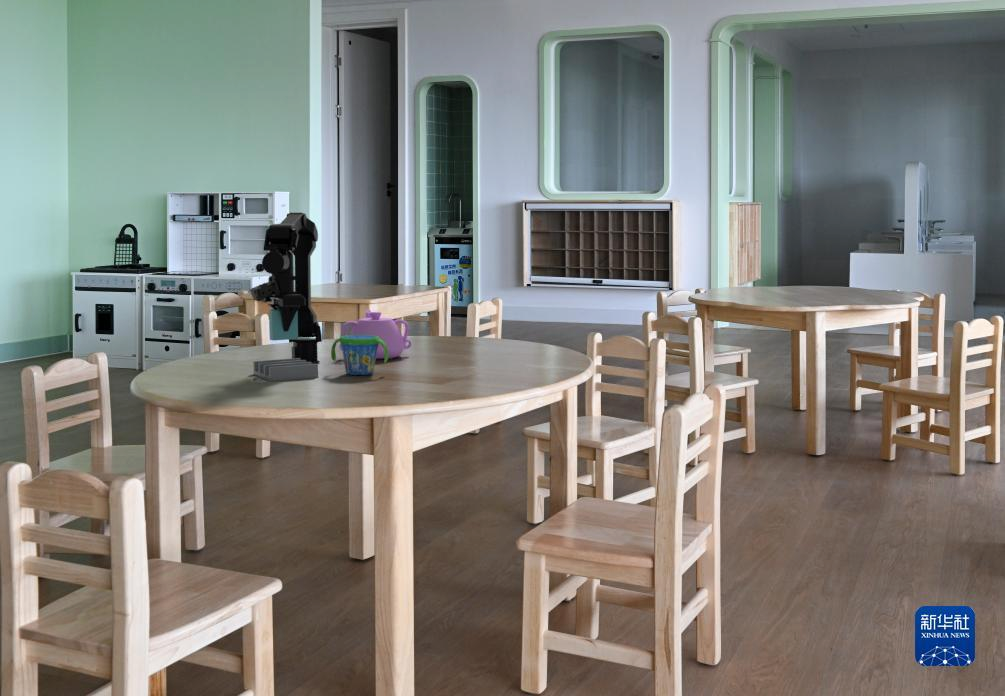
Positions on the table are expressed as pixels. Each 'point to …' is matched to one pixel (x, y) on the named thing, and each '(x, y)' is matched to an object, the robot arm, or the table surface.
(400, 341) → the teapot
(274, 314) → the tall teal box
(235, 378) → the table surface
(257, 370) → the dish rack
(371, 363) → the snack cup
